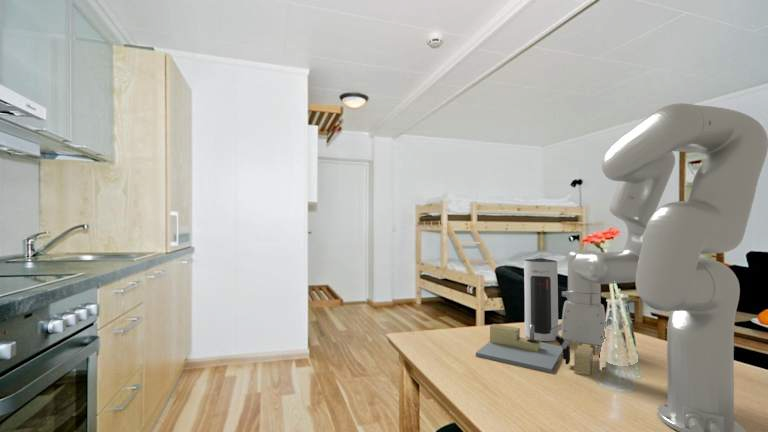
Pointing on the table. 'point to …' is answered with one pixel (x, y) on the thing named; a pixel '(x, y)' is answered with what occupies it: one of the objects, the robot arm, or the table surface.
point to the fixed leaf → (513, 338)
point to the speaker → (541, 297)
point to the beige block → (584, 359)
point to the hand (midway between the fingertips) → (584, 365)
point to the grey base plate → (523, 356)
